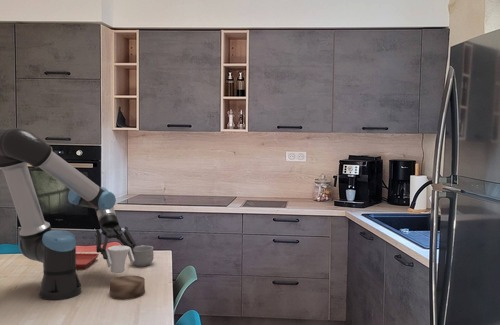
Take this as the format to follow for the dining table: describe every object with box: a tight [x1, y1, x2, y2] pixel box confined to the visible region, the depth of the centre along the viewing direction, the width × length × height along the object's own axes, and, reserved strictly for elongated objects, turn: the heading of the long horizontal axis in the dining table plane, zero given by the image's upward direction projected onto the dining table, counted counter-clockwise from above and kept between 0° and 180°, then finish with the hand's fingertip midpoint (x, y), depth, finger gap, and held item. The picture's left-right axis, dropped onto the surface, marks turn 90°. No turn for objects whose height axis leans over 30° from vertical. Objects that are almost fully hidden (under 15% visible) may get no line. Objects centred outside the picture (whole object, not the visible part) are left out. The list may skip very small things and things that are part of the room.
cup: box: [106, 245, 130, 274], centre depth 205 cm, size 9×9×10 cm
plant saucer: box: [76, 253, 100, 270], centre depth 232 cm, size 18×18×3 cm
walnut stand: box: [109, 275, 146, 300], centre depth 191 cm, size 13×13×5 cm
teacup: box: [132, 244, 154, 267], centre depth 233 cm, size 14×11×8 cm
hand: (121, 263), depth 203 cm, fingers closed on cup, 9 cm apart
